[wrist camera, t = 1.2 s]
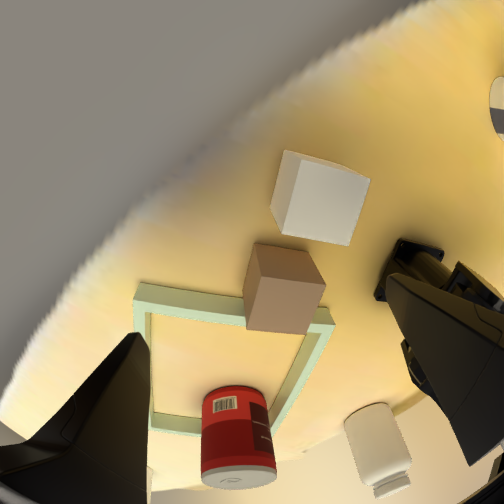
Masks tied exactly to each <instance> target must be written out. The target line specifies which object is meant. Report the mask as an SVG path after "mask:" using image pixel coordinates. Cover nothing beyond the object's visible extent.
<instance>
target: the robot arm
mask: <svg viewBox="0 0 504 504" xmlns="http://www.w3.org/2000/svg"><path fill="white" fill-rule="evenodd" d="M402 243H403V245H402V246H401V244H402ZM439 254H440V255H439ZM443 257H444V251H443V250H442V249H440V248H437V247H433V246H429V245H425V244H422V243H418V242H414V241H410V240H406V239H399V240H398V242H397V244H396V246H395V249H394V251H393V254H392V256H391V258H390V261H389V263H388V265H387V268H386V270H385V272H384V274H383V277H382V279H381V281H380V283H379V285H378V287H377V290H376V292H375V294H374V298H375V299H376V300H377V301H383V302H388V304H389V306H390V308H391V310H392V312H393V315H394V317H395V319H396V321H397V323H398V326H399V328H400V330H401V332H402V334H403V335H404V337H405V339H404V340H403V341H402V342H401V347H402V350H403V354H404V357H405V360H406V364H407V367H408V371H409V374H410V377H411V380H412V382H413V383H414V384H415V385H416V386H417V387H418V388H419V389H420V390H421V391H422V392H424V393H425V394H427V395H429V396H430V397H431V398H432V399H433V400H434V401H435V402H436V403H437V404H438V406H439V407H440V408H441V410H442V411H443V412H444V414H445V415H446V417H447V418H448V420H449V421H450V424H451V426H452V429H453V431H454V433H455V435H456V437H457V440H458V442H459V444H460V447H461V449H462V451H463V453H464V456H465V458H466V461H467V463H468V465H469V466H472V465H473V464H475V463H476V462H477V461H479V460H480V459H481V458H483V457H484V456H486V455H487V454H488V453H489V452H491V451H492V450H493V449H495V448H496V447H497V446H498V445H501V446H502V448H503V450H504V298H503V296H502V295H501V294H500V293H499V292H498V291H497V289H496V288H494V287H493V286H492V285H491V284H490V283H489V282H487V281H486V280H485V279H484V278H483V277H482V276H480V275H479V274H477V273H476V272H475V271H473V270H472V269H470V268H469V267H467V266H466V265H464V264H463V263H461V262H460V261H458V262H457V264H456V265H455V269H454V271H453V272H451V271H450V270H449V269H448V268H447V267H446V266H445V265H443V264H442V263H441V261H442V259H443ZM379 295H380V296H379ZM150 393H151V375H150V349H149V347H148V345H147V343H146V342H145V340H144V338H143V336H142V335H141V333H140V332H132V333H128V334H127V335H126V336H125V338H124V339H123V340H122V341H121V342H120V343H119V344H118V345H117V346H116V347H115V348H114V349H113V351H112V352H111V353H110V354H109V355H108V356H107V357H106V358H105V359H104V360H103V361H102V363H101V364H100V365H99V366H98V367H97V368H96V369H95V370H94V371H93V373H92V374H91V375H90V376H89V377H88V378H87V379H86V380H85V381H84V383H83V384H82V385H81V386H80V387H79V388H78V389H77V390H76V392H75V393H74V395H72V396H71V397H70V398H69V400H68V401H67V402H66V403H65V404H64V405H63V406H62V407H61V408H60V409H59V411H58V412H57V413H56V414H55V415H54V416H53V417H52V418H51V419H50V420H49V421H48V422H47V423H46V424H45V425H44V426H42V427H41V428H40V429H39V430H38V431H37V432H36V433H35V434H34V435H33V436H32V437H31V438H30V439H28V440H27V441H25V442H23V443H20V444H14V445H6V446H0V504H147V443H148V422H149V406H150ZM458 504H504V453H502V454H501V455H500V456H499V457H497V458H496V459H495V460H494V464H493V467H492V471H491V474H490V477H489V480H488V483H487V484H485V485H484V486H483V487H481V488H480V489H479V490H477V491H476V492H474V493H473V494H471V495H470V496H469V497H467V498H466V499H464V500H463V501H461V502H460V503H458Z"/></svg>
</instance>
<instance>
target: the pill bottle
mask: <svg viewBox="0 0 504 504" xmlns="http://www.w3.org/2000/svg"><path fill="white" fill-rule="evenodd" d="M344 427H345V431H346V434H347V438H348V441H349V444H350V447H351V450H352V453H353V456H354V460H355V463H356V466H357V469H358V473H359V476H360V479H361V481H362V483H364V484H365V485H367V486H375V487H374V488H373V490H375V491H374V495H375V498H376V499H381V498H384V497H387V496H389V495H392V494H395V493H397V492H399V491H401V490H403V489H405V488H407V487H408V486H410V484H411V483H410V480H409V477H407V476H408V474H405V472H406V471H407V470H408V469H409V467H410V466H411V463H412V458H411V456H410V453H409V451H408V448H407V446H406V444H405V441H404V439H403V437H402V434H401V432H400V430H399V427H398V425H397V423H396V421H395V418H394V416H393V414H392V411H391V409H390V408H389V406H388V405H387V404H384V403H379V404H374V405H370V406H367V407H365V408H363V409H361V410H359V411H357V412H355V413H354V414H352V415H351V416H350V417H349V418H348V419H347V420H346V421H345V424H344Z"/></svg>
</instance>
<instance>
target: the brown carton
mask: <svg viewBox="0 0 504 504" xmlns="http://www.w3.org/2000/svg"><path fill="white" fill-rule="evenodd" d="M325 287H326V284H325V282H324V280H323V278H322V276H321V275H320V273H319V271H318V269H317V267H316V265H315V264H314V262H313V260H312V258H311V257H310V255H309V253H308V252H304V251H299V250H293V249H287V248H281V247H275V246H269V245H263V244H257V243H254V245H253V250H252V254H251V258H250V262H249V266H248V270H247V274H246V278H245V282H244V286H243V290H242V291H243V301H244V311H245V320H246V330H255V331H265V332H275V333H287V334H300V335H306V333H307V330H308V328H309V326H310V323H311V321H312V319H313V316H314V314H315V312H316V309H317V307H318V305H319V302H320V300H321V297H322V295H323V292H324V290H325Z"/></svg>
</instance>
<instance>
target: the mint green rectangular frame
mask: <svg viewBox="0 0 504 504" xmlns="http://www.w3.org/2000/svg"><path fill="white" fill-rule="evenodd" d="M151 313H155V314H161V315H167V316H173V317H179V318H185V319H192V320H199V321H206V322H213V323H221V324H228V325H237V326H245V327H246V320H245V311H244V301H243V298H236V297H228V296H221V295H214V294H207V293H201V292H194V291H188V290H181V289H175V288H169V287H163V286H157V285H151V284H146V283H140V284H139V286H138V289H137V291H136V293H135V296H134V298H133V322H134V332H140V333H141V335H142V336H143V338H144V340H145V342H146V343H147V345H148V347H149V349H150V375H151V336H150V321H151ZM335 326H336V325H335V323H334V320H333V318H332V316H331V314H330V312H329V310H328V308H321V307H317V309H316V312H315V314H314V316H313V319H312V321H311V323H310V326H309V328H308V330H307V334H306V336H305V339H304V341H303V343H302V345H301V348H300V350H299V352H298V354H297V356H296V358H295V360H294V363H293V365H292V367H291V369H290V371H289V373H288V375H287V377H286V379H285V381H284V383H283V385H282V387H281V389H280V391H279V393H278V395H277V397H276V399H275V401H274V403H273V405H272V407H271V409H270V411H269V413H268V418H269V424H270V430H271V437H273V436H274V434H275V432H276V431H277V429H278V428H279V426H280V425H281V423H282V422H283V420H284V418H285V417H286V415H287V413H288V412H289V410H290V409H291V407H292V405H293V404H294V402H295V400H296V399H297V397H298V395H299V393H300V392H301V390H302V388H303V386H304V385H305V383H306V381H307V379H308V378H309V376H310V374H311V372H312V370H313V369H314V367H315V365H316V363H317V361H318V359H319V357H320V355H321V354H322V352H323V350H324V348H325V346H326V344H327V342H328V340H329V338H330V336H331V334H332V332H333V330H334V328H335ZM201 426H202V419H198V418H190V417H182V416H175V415H168V414H162V413H156V412H154V408H153V394H152V375H151V393H150V406H149V422H148V430H152V431H158V432H164V433H171V434H178V435H186V436H195V437H201Z"/></svg>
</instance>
